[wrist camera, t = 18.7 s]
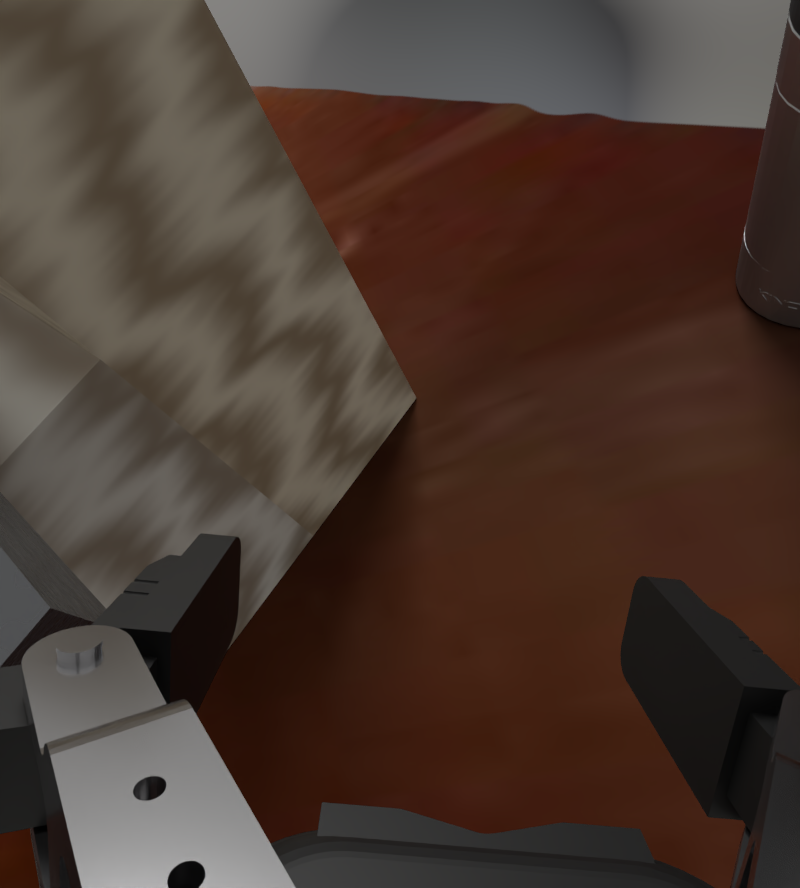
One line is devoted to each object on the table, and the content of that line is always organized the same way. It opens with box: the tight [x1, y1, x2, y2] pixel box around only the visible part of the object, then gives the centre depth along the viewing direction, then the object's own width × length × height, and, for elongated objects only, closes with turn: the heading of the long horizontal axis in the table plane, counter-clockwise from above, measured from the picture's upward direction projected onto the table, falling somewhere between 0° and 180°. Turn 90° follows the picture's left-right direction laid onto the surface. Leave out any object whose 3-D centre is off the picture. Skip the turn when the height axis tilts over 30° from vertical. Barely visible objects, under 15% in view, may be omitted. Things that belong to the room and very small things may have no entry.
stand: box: [0, 0, 416, 649], centre depth 35 cm, size 27×20×32 cm
